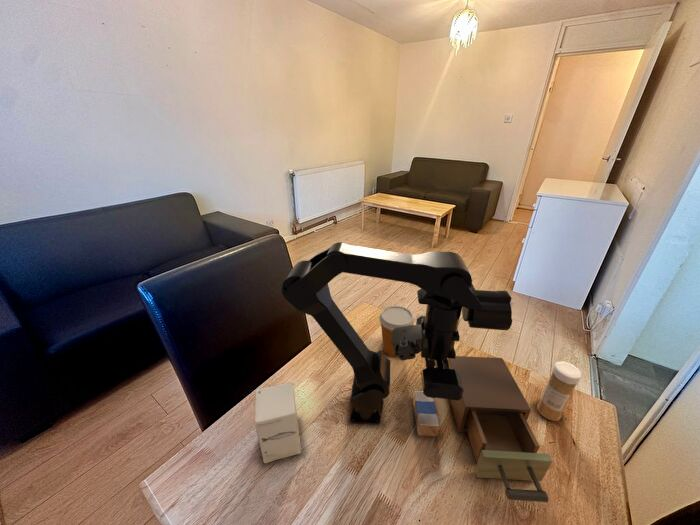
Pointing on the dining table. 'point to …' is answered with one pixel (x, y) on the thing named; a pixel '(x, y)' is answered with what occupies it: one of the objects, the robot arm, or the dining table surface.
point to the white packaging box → (277, 422)
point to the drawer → (507, 451)
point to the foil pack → (425, 414)
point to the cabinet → (485, 388)
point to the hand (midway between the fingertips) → (430, 383)
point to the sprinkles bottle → (558, 390)
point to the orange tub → (393, 324)
